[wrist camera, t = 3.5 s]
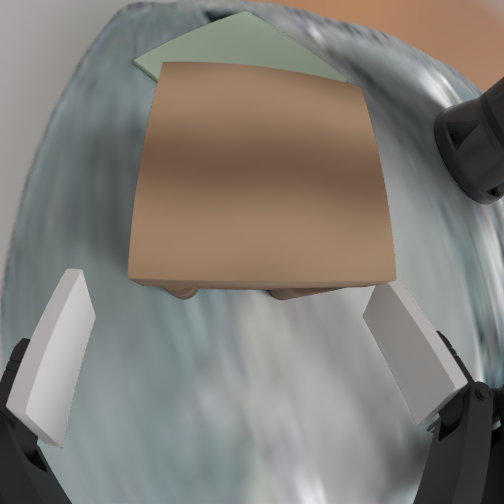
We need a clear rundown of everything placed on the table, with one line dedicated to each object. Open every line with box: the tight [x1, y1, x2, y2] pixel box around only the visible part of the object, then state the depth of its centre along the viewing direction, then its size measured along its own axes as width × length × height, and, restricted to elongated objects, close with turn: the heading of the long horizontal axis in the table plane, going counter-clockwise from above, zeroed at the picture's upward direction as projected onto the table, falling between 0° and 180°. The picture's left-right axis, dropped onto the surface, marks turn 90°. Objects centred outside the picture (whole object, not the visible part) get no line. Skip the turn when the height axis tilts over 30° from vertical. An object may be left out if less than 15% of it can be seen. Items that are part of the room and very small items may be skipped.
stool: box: [128, 62, 396, 300], centre depth 17 cm, size 10×10×14 cm
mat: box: [134, 11, 348, 83], centre depth 28 cm, size 18×18×1 cm
